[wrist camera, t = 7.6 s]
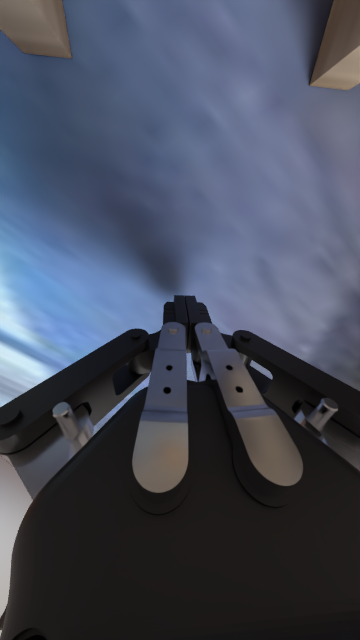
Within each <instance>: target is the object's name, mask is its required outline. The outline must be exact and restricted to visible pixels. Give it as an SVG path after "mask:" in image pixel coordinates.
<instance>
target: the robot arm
mask: <svg viewBox="0 0 360 640" xmlns="http://www.w3.org/2000/svg"><path fill="white" fill-rule="evenodd" d="M186 350H187V353H191V366H192V370H193V374H194V378H195V381H190V380H187V360H186ZM251 360H253V361H255V362H256V363H258V364H259V365H261V366H262V367H264V368H266V369H267V370H269V371H270V372H271V374H272V376H273V379H272V380H271V379H269V378H268V377H266V376H265V375H263V374H262V373H260V372H259V371H257V370H256V369H254V368H253V367H251V366H250V363H251ZM122 366H123V367H122ZM118 369H119V370H118ZM150 372H151V375H150V380H149V385H148V387H146V388H144V389H142V390H140V391H139V392H137V393H136V394H135V395H133V396H132V397H131V398H130V399H129V400H128V401H127V402H126V403H125V404H124V405H123V406H122V407H121V408H120V409H119V410H118V411H117V412H116V413H115V414H114V415H113V416H112V417H111V418H110V419H109V420H108V422H107V423H106V424H105V425H104V426H103V427H102V428H101V429H100V430H99V431H98V432H97V433H96V434H95V435H94V436H93V437H92V435H93V431H94V428H93V427H94V426H95V425H96V424H97V423H98V422H99V421H100V420H101V419H102V418H103V417H104V416H106V415H107V414H108V413H109V412H110V411H111V410H112V409H113V408H114V407H115V406H116V405H117V404H119V403H120V402H121V401H122V400H123V399H124V398H125V397H126V396H127V395H128V394H129V393H131V392H132V391H133V390H134V389H135V388H136V387H137V386H138V385H139V384H140V383H141V382H142V381H144V380H145V379H146V378H147V377H148V376H149V374H150ZM0 456H1V457H2V458H4V459H5V460H6V461H7V462H8V463H9V464H10V465H11V466H13V467H14V468H15V470H16V471H17V473H18V475H19V477H20V478H21V480H22V482H23V484H24V486H25V487H26V489H27V491H28V492H29V494H30V496H31V498H32V499H33V502H32V503H31V505H30V507H29V508H28V510H27V512H26V514H25V516H24V518H23V520H22V523H21V525H20V527H19V530H18V533H17V536H16V540H15V543H14V547H13V552H12V560H11V577H10V590H9V597H8V604H7V609H6V615H5V620H4V625H3V629H2V633H1V637H0V640H360V391H358V390H356V389H354V388H352V387H351V386H349V385H347V384H345V383H343V382H341V381H340V380H338V379H336V378H334V377H332V376H330V375H329V374H327V373H325V372H323V371H321V370H319V369H317V368H316V367H314V366H312V365H310V364H308V363H306V362H305V361H303V360H301V359H299V358H297V357H295V356H294V355H292V354H290V353H288V352H286V351H284V350H283V349H281V348H279V347H277V346H275V345H273V344H272V343H270V342H268V341H266V340H264V339H262V338H260V337H259V336H257V335H255V334H253V333H251V332H249V331H245V330H238V331H235V332H234V333H233V336H231V335H226V334H222V333H220V331H219V329H218V328H217V327H216V326H215V325H213V324H212V322H211V319H210V316H209V313H208V311H207V308H206V306H205V305H204V304H203V303H199V302H197V301H196V298H195V296H185V297H184V296H182V295H174V302H166V303H165V305H164V313H163V326H162V328H161V330H160V331H158V332H156V333H153V334H149V335H148V333H147V331H145V330H143V329H131V330H128V331H126V332H125V333H123V334H121V335H120V336H118V337H116V338H115V339H113V340H111V341H110V342H108V343H106V344H105V345H103V346H101V347H100V348H98V349H97V350H95V351H93V352H92V353H90V354H88V355H87V356H85V357H83V358H82V359H80V360H78V361H77V362H75V363H73V364H72V365H70V366H68V367H67V368H65V369H63V370H62V371H60V372H58V373H57V374H55V375H53V376H52V377H50V378H48V379H47V380H45V381H43V382H42V383H40V384H38V385H37V386H35V387H33V388H32V389H30V390H28V391H27V392H25V393H23V394H22V395H20V396H19V397H17V398H15V399H14V400H12V401H10V402H9V403H7V404H5V405H4V406H2V407H0Z"/></svg>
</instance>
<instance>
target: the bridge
mask: <svg viewBox="0 0 360 640" xmlns="http://www.w3.org/2000/svg"><path fill="white" fill-rule="evenodd" d="M0 30H1V31H2V32H3V33H4V34H5V35H6V36H7V37H8V38H9V39H10V40H11V41H12V42H13V43H14V44H15V45H16V46H17V47H18V48H19V49H20V50H21V51H22V52H23V53H27V54H36V55H45V56H53V57H62V58H71V59H72V55H71V49H70V43H69V37H68V31H67V25H66V19H65V13H64V7H63V1H62V0H0ZM359 83H360V0H334V1H333V5H332V8H331V12H330V15H329V19H328V22H327V26H326V29H325V33H324V36H323V40H322V43H321V47H320V50H319V54H318V57H317V61H316V64H315V67H314V71H313V74H312V78H311V81H310V85H309V86H316V87H324V88H333V89H342V90H349V89H351V88H352V87H354V86H356V85H357V84H359Z"/></svg>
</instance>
